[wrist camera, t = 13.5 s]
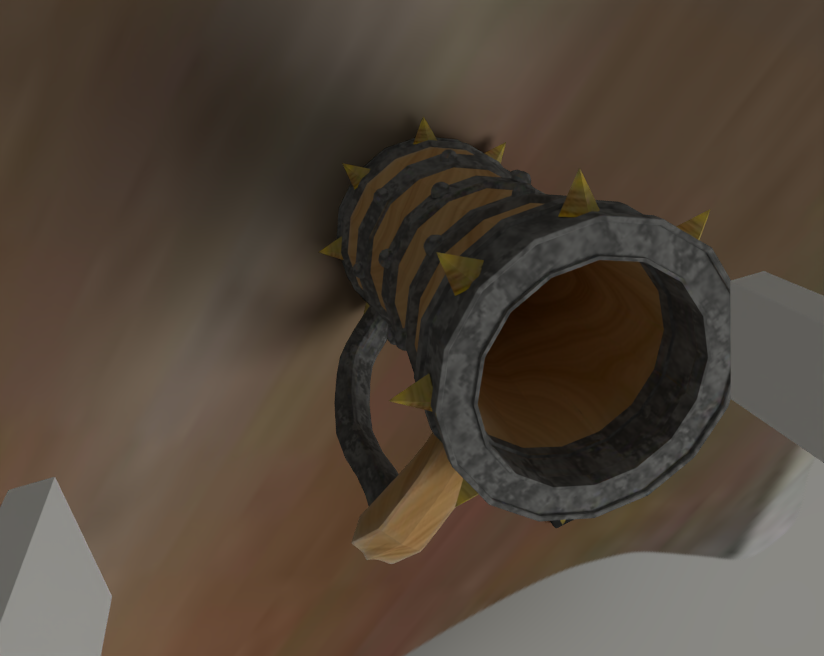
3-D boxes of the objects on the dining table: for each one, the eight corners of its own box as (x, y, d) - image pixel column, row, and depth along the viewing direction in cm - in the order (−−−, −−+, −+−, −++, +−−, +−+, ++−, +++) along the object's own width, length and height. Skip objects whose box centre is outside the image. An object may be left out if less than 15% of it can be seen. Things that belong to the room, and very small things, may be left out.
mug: (575, 208, 42) (843, 330, 24) (395, 427, 45) (516, 687, 27) (414, 59, 37) (603, 73, 19) (218, 316, 39) (221, 547, 21)
